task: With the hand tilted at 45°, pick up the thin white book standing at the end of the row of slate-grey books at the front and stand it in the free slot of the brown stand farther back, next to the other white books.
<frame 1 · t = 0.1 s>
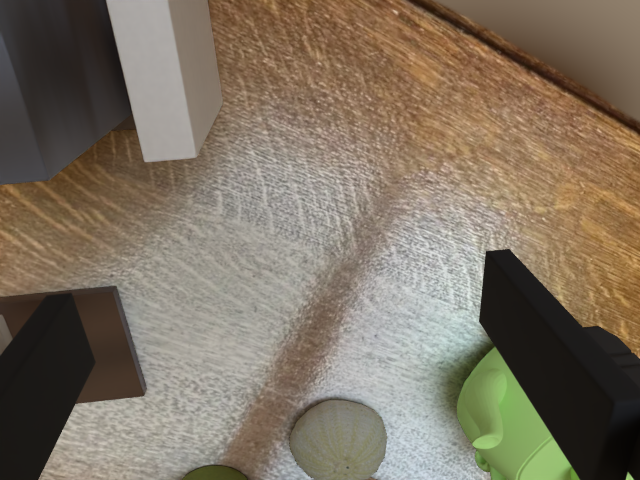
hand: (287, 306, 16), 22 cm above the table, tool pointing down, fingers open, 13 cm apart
white book: (194, 35, 32), on the table
grey rack: (53, 45, 31), on the table
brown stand: (49, 348, 41), on the table
teapot: (509, 367, 47), on the table
sea urchin shell: (336, 425, 49), on the table
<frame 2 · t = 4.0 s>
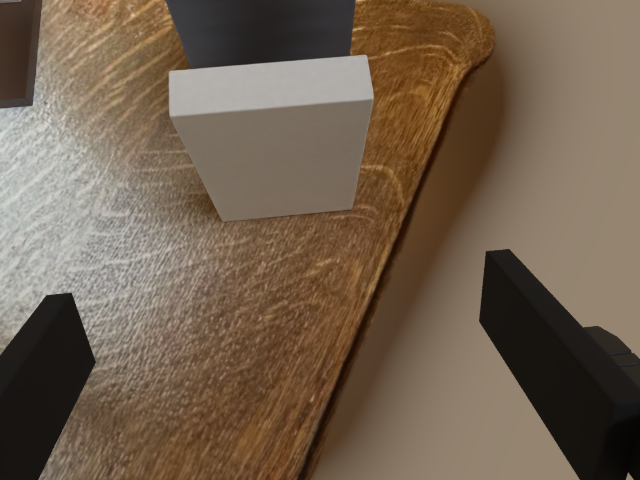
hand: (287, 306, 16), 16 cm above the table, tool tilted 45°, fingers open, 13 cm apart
white book: (286, 200, 34), on the table
grey rack: (276, 90, 37), on the table
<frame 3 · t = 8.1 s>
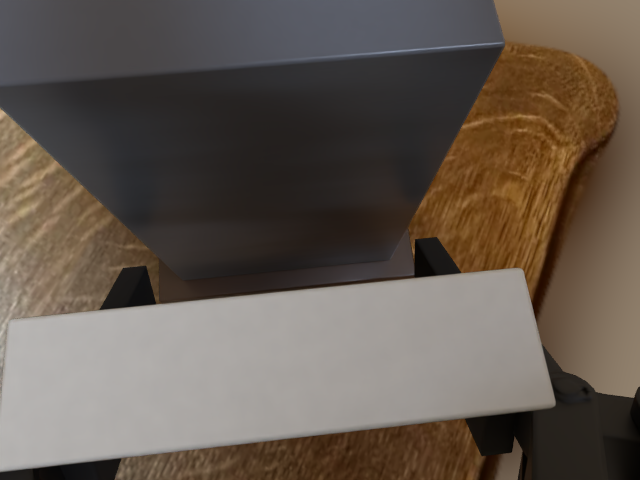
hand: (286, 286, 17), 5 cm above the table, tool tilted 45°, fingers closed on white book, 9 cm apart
white book: (298, 387, 20), on the table, touching gripper
grey rack: (281, 191, 23), on the table
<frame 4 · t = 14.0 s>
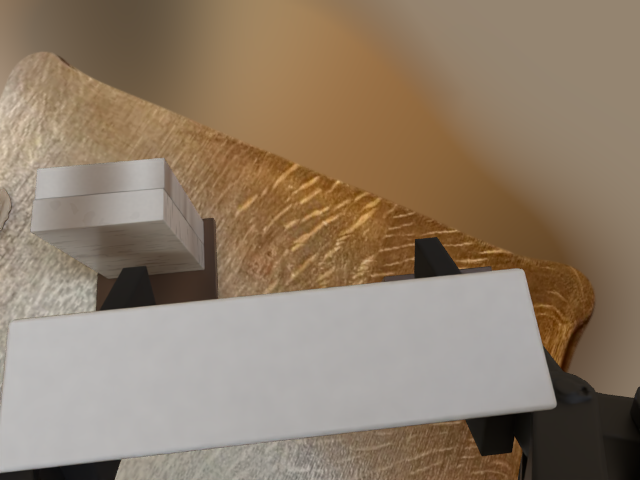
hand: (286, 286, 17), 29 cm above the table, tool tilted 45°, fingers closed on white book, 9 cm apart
white book: (299, 387, 20), point 24 cm above the table, touching gripper
grey rack: (418, 350, 45), on the table
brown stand: (159, 295, 46), on the table
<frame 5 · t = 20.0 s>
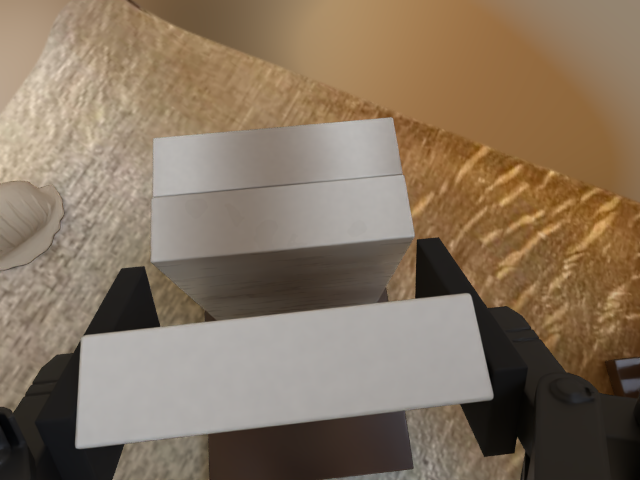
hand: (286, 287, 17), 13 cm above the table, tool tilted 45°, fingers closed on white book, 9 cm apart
white book: (302, 394, 23), point 6 cm above the table, touching gripper
decorative ornament: (12, 239, 32), on the table
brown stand: (301, 350, 29), on the table
when the fingers open (13 cm above the table, at t = 20.0 s): white book drops 5 cm, resting on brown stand.
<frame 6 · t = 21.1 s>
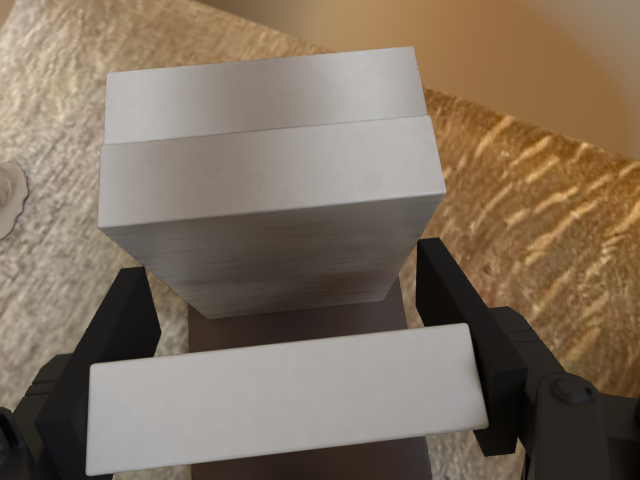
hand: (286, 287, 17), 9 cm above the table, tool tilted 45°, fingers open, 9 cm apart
white book: (301, 403, 23), point 1 cm above the table, touching gripper, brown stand
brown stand: (300, 348, 25), on the table
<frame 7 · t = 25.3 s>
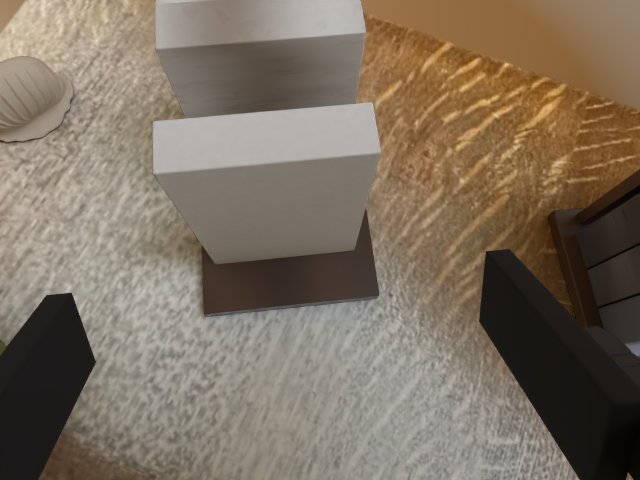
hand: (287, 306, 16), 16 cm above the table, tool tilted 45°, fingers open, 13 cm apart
white book: (283, 240, 32), point 1 cm above the table, touching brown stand
decorative ornament: (27, 118, 36), on the table
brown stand: (283, 207, 34), on the table
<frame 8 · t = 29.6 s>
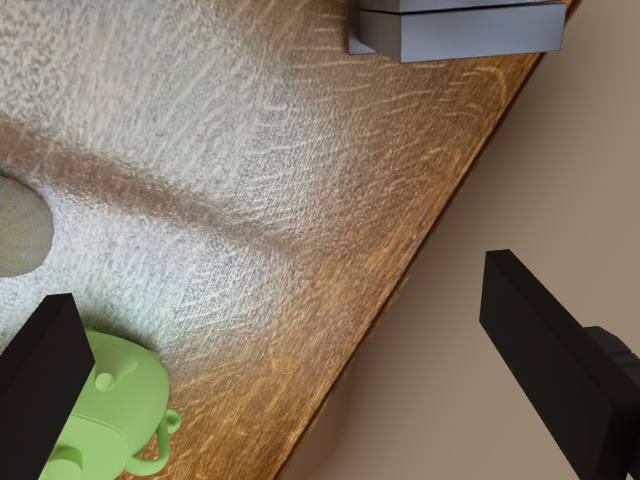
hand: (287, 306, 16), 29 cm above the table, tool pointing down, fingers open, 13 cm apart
teapot: (112, 361, 51), on the table
sea urchin shell: (7, 218, 44), on the table
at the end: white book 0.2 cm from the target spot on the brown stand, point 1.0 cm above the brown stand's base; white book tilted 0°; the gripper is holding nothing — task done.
